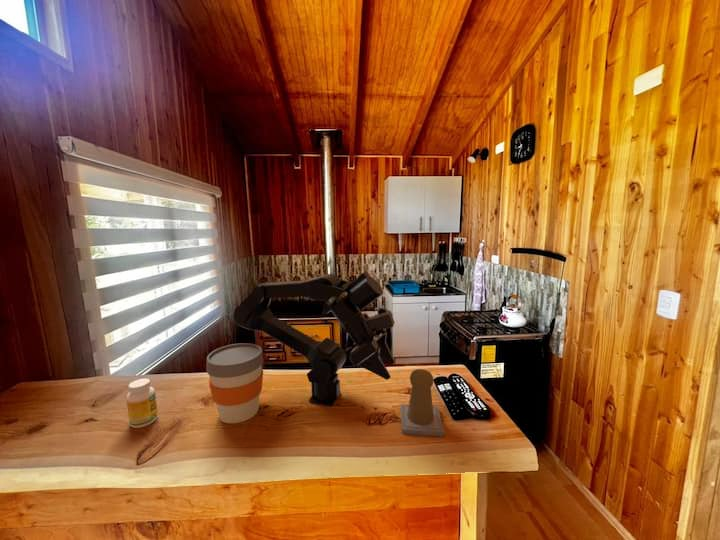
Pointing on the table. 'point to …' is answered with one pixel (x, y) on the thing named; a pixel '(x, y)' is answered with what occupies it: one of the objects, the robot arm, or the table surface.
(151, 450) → the table surface
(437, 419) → the coaster
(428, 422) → the cork
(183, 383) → the table surface
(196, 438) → the table surface
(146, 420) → the supplement bottle
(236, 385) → the reusable coffee cup
